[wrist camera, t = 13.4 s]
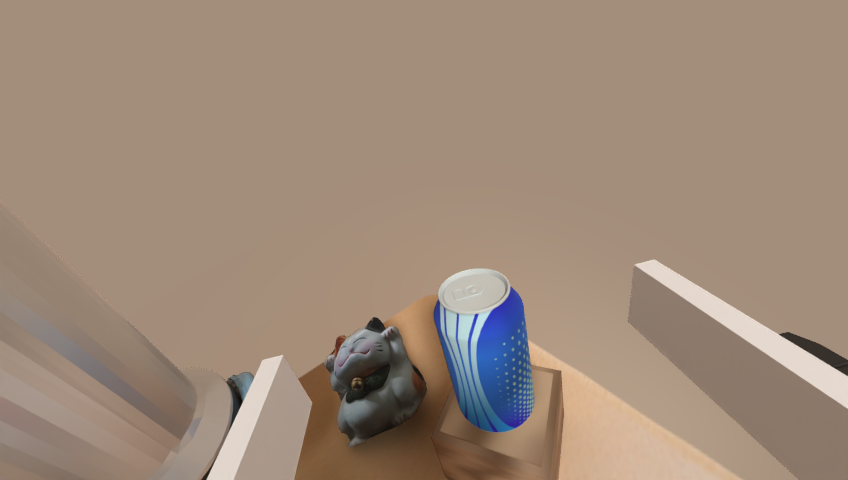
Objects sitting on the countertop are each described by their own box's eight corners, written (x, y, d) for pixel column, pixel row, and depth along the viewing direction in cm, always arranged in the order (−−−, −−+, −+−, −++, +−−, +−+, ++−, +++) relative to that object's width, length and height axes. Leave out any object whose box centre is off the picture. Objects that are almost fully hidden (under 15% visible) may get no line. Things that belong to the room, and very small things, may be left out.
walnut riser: (446, 477, 36) (430, 435, 33) (476, 390, 45) (466, 351, 42) (554, 523, 30) (549, 479, 27) (563, 413, 39) (560, 369, 36)
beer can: (476, 363, 40) (453, 259, 33) (543, 383, 35) (532, 267, 28) (447, 421, 34) (410, 309, 27) (523, 455, 29) (502, 329, 22)
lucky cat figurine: (328, 457, 42) (286, 365, 42) (367, 404, 53) (333, 332, 54) (421, 429, 37) (373, 327, 38) (441, 378, 49) (404, 301, 50)
